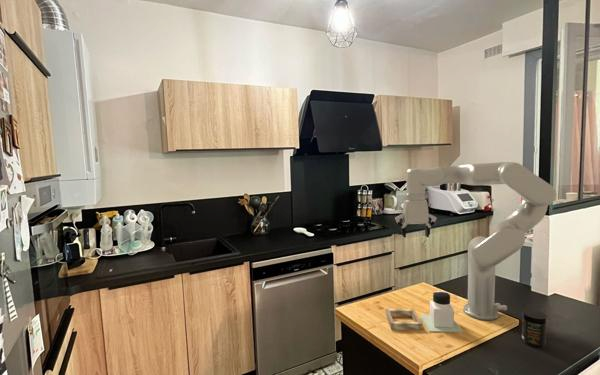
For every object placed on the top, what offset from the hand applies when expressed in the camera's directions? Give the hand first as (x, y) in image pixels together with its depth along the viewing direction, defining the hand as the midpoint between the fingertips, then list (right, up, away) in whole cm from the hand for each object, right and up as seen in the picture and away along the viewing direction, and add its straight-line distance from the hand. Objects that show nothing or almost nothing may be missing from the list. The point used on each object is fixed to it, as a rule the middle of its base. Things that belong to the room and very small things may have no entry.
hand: (415, 236), depth 139 cm
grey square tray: (-9, -32, -12) cm, 35 cm away
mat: (+5, -32, -14) cm, 35 cm away
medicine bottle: (+5, -32, -14) cm, 35 cm away
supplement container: (+30, -33, -28) cm, 53 cm away
